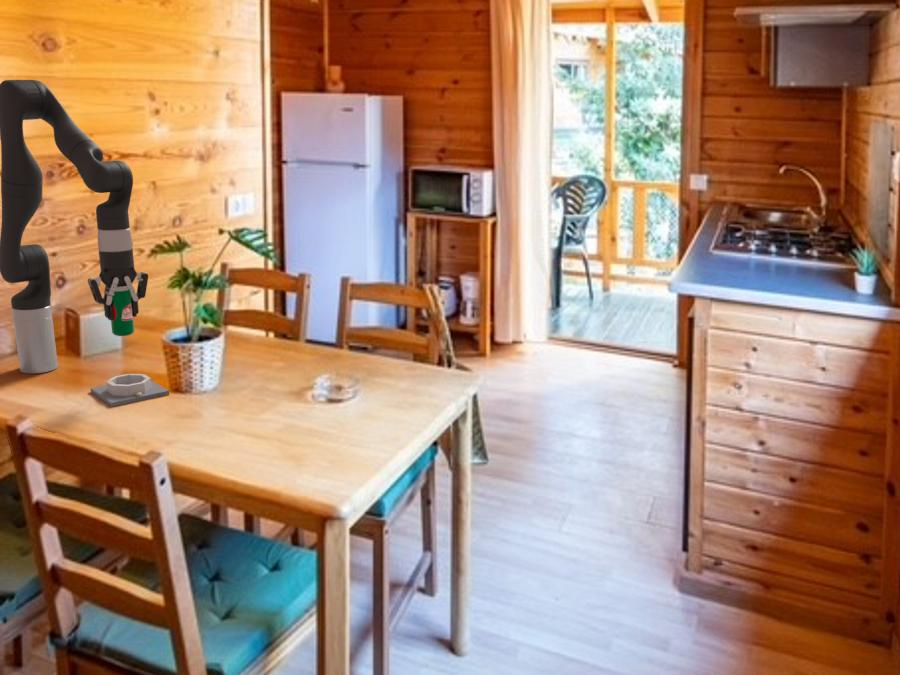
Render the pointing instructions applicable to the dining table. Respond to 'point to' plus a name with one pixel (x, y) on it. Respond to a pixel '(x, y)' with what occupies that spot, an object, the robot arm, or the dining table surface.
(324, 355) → the dining table surface
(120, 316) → the soda can
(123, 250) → the robot arm
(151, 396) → the grey can holder
